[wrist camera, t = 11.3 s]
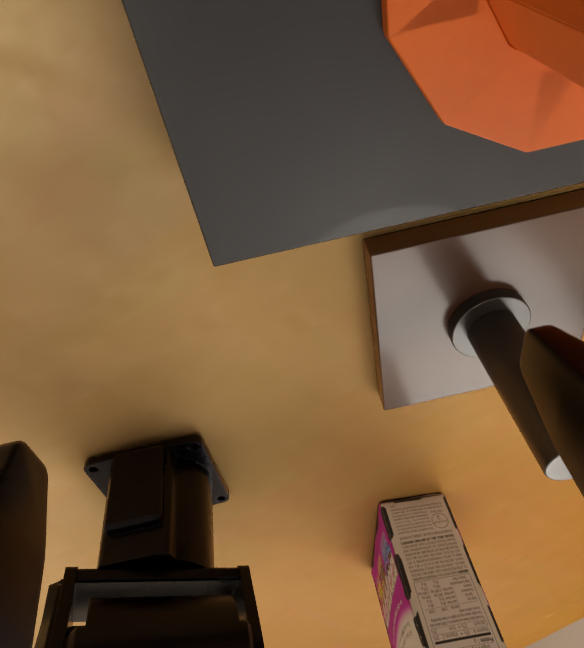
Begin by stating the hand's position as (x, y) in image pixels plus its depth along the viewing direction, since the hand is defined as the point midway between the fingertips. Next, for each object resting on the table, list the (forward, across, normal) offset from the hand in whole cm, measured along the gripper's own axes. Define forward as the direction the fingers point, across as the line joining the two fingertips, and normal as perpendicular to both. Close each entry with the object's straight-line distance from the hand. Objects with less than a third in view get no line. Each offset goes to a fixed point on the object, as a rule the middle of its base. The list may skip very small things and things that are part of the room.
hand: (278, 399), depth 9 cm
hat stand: (+12, -9, +10) cm, 18 cm away
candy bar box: (+12, -6, +32) cm, 35 cm away
